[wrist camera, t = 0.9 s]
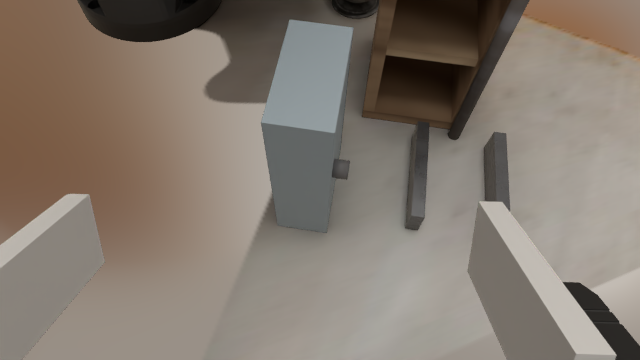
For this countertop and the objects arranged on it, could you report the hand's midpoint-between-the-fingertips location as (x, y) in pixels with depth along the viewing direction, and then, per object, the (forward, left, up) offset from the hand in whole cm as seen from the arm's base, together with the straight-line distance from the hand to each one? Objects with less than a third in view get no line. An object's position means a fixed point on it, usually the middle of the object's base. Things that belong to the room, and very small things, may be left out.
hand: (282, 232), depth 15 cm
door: (-12, +2, -19) cm, 23 cm away
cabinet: (-22, +13, -19) cm, 32 cm away
